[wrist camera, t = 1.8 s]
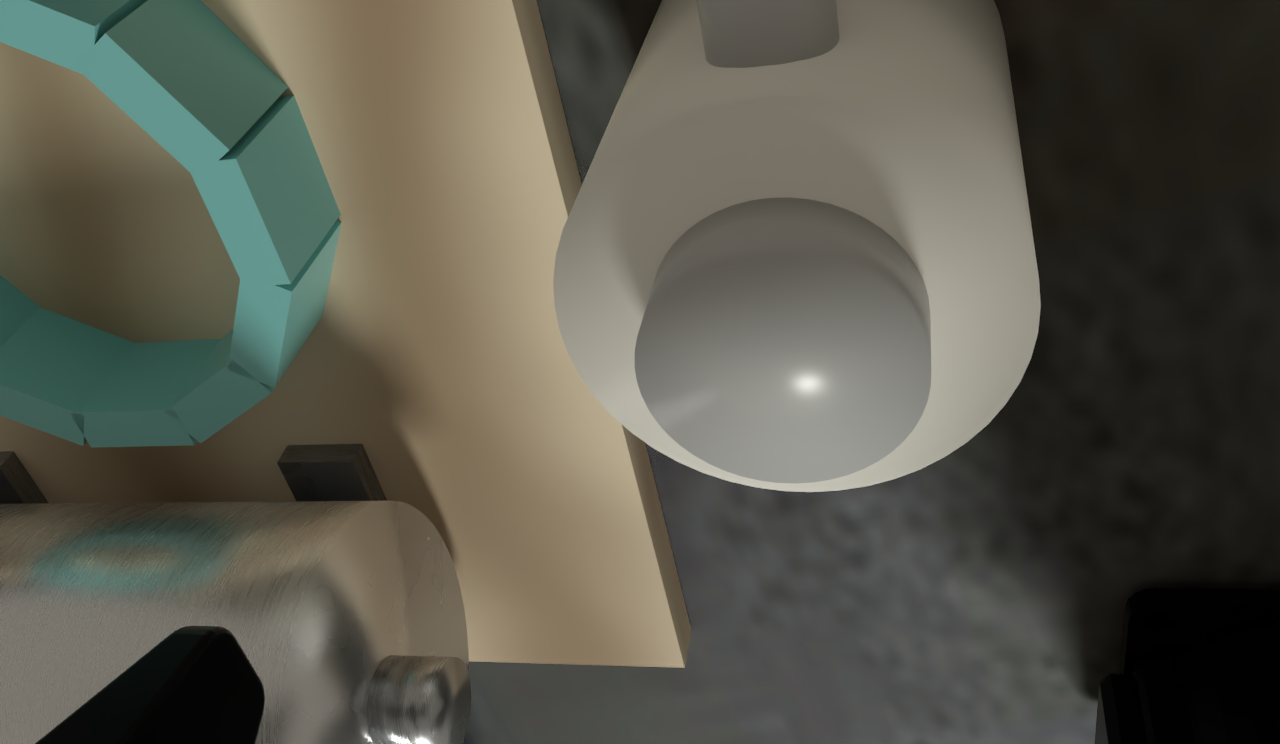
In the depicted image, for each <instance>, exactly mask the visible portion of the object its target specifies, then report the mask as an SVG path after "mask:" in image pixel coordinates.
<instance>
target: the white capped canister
mask: <svg viewBox="0 0 1280 744" xmlns="http://www.w3.org/2000/svg"><path fill="white" fill-rule="evenodd" d="M553 287H554V305H555V310H556V315H557V320H558V325H559V330H560V332H561V335H562V338H563V341H564V343H565V346H566V349H567V352H568V354H569V356H570V358H571V360H572V362H573V364H574V365H575V367H576V369H577V371H578V373H579V375H580V376H581V378H582V379H583V381H584V382H585V384H586V385H587V386H588V388H589V389H590V391H591V392H592V393H593V395H594V396H595V397H596V399H597V400H598V401H599V402H600V403H601V404H602V405H603V406H604V407H605V408H606V410H607V411H608V412H609V413H610V414H611V415H612V416H613V417H614V418H615V419H616V420H618V421H619V422H620V423H621V424H622V425H623V426H624V427H625V428H627V429H628V430H629V431H630V432H631V433H632V434H634V435H635V436H637V437H638V438H640V439H641V440H642V441H644V442H645V443H647V444H648V445H649V446H651V447H652V448H654V449H656V450H657V451H659V452H661V453H663V454H664V455H666V456H668V457H670V458H672V459H673V460H675V461H677V462H679V463H681V464H684V465H686V466H688V467H691V468H693V469H695V470H697V471H700V472H702V473H705V474H708V475H711V476H714V477H717V478H720V479H723V480H726V481H730V482H734V483H739V484H743V485H747V486H752V487H757V488H764V489H772V490H780V491H797V492H821V491H839V490H846V489H852V488H859V487H865V486H870V485H874V484H878V483H882V482H885V481H889V480H893V479H896V478H899V477H902V476H904V475H907V474H910V473H912V472H915V471H918V470H920V469H922V468H924V467H926V466H928V465H930V464H932V463H934V462H936V461H938V460H940V459H942V458H944V457H946V456H947V455H949V454H950V453H952V452H953V451H955V450H956V449H958V448H959V447H961V446H962V445H964V444H965V443H967V442H968V441H969V440H970V439H972V438H973V437H974V436H975V435H976V434H977V433H979V432H980V431H981V430H982V429H983V428H984V427H986V426H987V425H988V424H989V423H990V422H991V420H992V419H993V418H994V417H995V416H996V415H997V414H998V413H999V411H1000V410H1001V409H1002V408H1003V407H1004V406H1005V405H1006V403H1007V402H1008V400H1009V399H1010V397H1011V396H1012V394H1013V393H1014V391H1015V390H1016V388H1017V386H1018V385H1019V383H1020V382H1021V379H1022V377H1023V375H1024V373H1025V371H1026V369H1027V366H1028V364H1029V362H1030V360H1031V357H1032V353H1033V350H1034V346H1035V343H1036V339H1037V335H1038V329H1039V320H1040V310H1041V301H1040V286H1039V275H1038V268H1037V261H1036V254H1035V247H1034V240H1033V233H1032V226H1031V218H1030V211H1029V204H1028V197H1027V190H1026V183H1025V176H1024V169H1023V162H1022V155H1021V148H1020V140H1019V133H1018V126H1017V119H1016V112H1015V105H1014V98H1013V91H1012V84H1011V77H1010V70H1009V63H1008V55H1007V48H1006V41H1005V36H1004V31H1003V27H1002V22H1001V18H1000V14H999V12H998V9H997V6H996V4H995V1H994V0H662V1H661V4H660V6H659V8H658V10H657V13H656V15H655V17H654V20H653V22H652V24H651V26H650V29H649V31H648V33H647V36H646V38H645V40H644V43H643V45H642V47H641V50H640V52H639V54H638V57H637V59H636V61H635V64H634V66H633V68H632V70H631V73H630V75H629V77H628V80H627V82H626V84H625V87H624V89H623V91H622V94H621V96H620V98H619V101H618V103H617V105H616V107H615V110H614V112H613V114H612V117H611V119H610V121H609V124H608V126H607V128H606V131H605V133H604V135H603V138H602V140H601V142H600V145H599V147H598V149H597V151H596V154H595V156H594V158H593V161H592V163H591V165H590V168H589V170H588V172H587V175H586V177H585V179H584V182H583V184H582V186H581V189H580V191H579V193H578V195H577V198H576V200H575V202H574V205H573V207H572V209H571V212H570V214H569V216H568V219H567V221H566V223H565V226H564V228H563V230H562V234H561V238H560V241H559V245H558V249H557V252H556V258H555V267H554V277H553Z"/></svg>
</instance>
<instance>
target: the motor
mask: <svg viewBox="0 0 1280 744" xmlns="http://www.w3.org/2000/svg"><path fill="white" fill-rule="evenodd" d="M277 464H278V466H279V468H280V470H281V472H282V474H283V476H284V478H285V480H286V482H287V484H288V486H289V488H290V490H291V492H292V494H293V496H294V498H295V500H296V501H275V502H153V503H48V501H47V500H46V498H45V497H44V495H43V494H42V492H41V491H40V489H39V488H38V486H37V485H36V483H35V482H34V480H33V479H32V477H31V476H30V474H29V473H28V472H27V470H26V469H25V467H24V466H23V464H22V463H21V461H20V460H19V458H18V457H17V455H16V454H15V452H14V451H1V452H0V744H35V743H36V742H38V741H39V740H40V739H41V738H42V737H44V736H45V735H46V734H47V733H49V732H50V731H51V730H52V729H54V728H55V727H56V726H57V725H59V724H60V723H61V722H62V721H64V720H65V719H66V718H67V717H68V716H70V715H71V714H72V713H73V712H75V711H76V710H77V709H78V708H80V707H81V706H82V705H83V704H85V703H86V702H87V701H88V700H89V699H91V698H92V697H93V696H94V695H96V694H97V693H98V692H99V691H101V690H102V689H103V688H104V687H106V686H107V685H108V684H109V683H111V682H112V681H113V680H114V679H115V678H117V677H118V676H119V675H120V674H122V673H123V672H124V671H125V670H127V669H128V668H129V667H130V666H132V665H133V664H134V663H135V662H136V661H138V660H139V659H140V658H141V657H143V656H144V655H145V654H146V653H148V652H149V651H150V650H151V649H153V648H154V647H155V646H156V645H158V644H159V643H160V642H161V641H162V640H164V639H165V638H166V637H167V636H169V635H170V634H171V633H173V632H174V631H176V630H178V629H180V628H182V627H186V626H219V627H224V628H226V629H228V630H229V631H230V632H231V633H232V634H233V635H234V636H235V638H236V640H237V641H238V643H239V645H240V646H241V648H242V650H243V651H244V653H245V655H246V656H247V658H248V660H249V661H250V663H251V665H252V666H253V668H254V670H255V671H256V673H257V674H258V676H259V678H260V680H261V682H262V684H263V688H264V694H265V704H264V711H263V716H262V720H261V723H260V727H259V731H258V734H257V738H256V742H255V744H463V740H464V735H465V732H466V729H467V725H468V721H469V716H470V708H471V685H470V678H469V652H468V637H467V626H466V618H465V610H464V605H463V599H462V594H461V589H460V585H459V581H458V578H457V574H456V570H455V567H454V565H453V562H452V559H451V556H450V553H449V551H448V549H447V547H446V545H445V543H444V541H443V539H442V537H441V536H440V534H439V532H438V531H437V529H436V528H435V526H434V525H433V524H432V522H431V521H430V520H429V519H428V518H427V517H426V516H425V515H424V514H423V513H422V512H420V511H419V510H418V509H417V508H415V507H413V506H411V505H409V504H407V503H405V502H399V501H387V499H386V497H385V494H384V492H383V490H382V487H381V485H380V483H379V481H378V478H377V476H376V474H375V471H374V469H373V467H372V465H371V462H370V460H369V458H368V455H367V453H366V451H365V449H364V446H363V444H321V445H287V447H286V449H285V450H284V452H283V454H282V455H281V457H280V459H279V460H278V462H277Z"/></svg>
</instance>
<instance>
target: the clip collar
mask: <svg viewBox="0 0 1280 744" xmlns="http://www.w3.org/2000/svg"><path fill="white" fill-rule="evenodd" d="M0 42H2V43H4V44H7V45H9V46H12V47H14V48H17V49H19V50H22V51H24V52H27V53H30V54H32V55H35V56H37V57H40V58H42V59H45V60H47V61H50V62H52V63H55V64H58V65H60V66H63V67H65V68H68V69H70V70H73V71H75V72H78V73H80V74H83V75H84V76H85V77H87V78H88V79H89V80H90V81H91V82H92V83H93V84H94V85H95V86H96V87H97V88H99V89H100V90H101V91H102V92H103V93H104V94H105V95H106V96H107V97H108V98H110V99H111V100H112V101H113V102H114V103H115V104H116V105H117V106H118V107H119V108H120V109H122V110H123V111H124V112H125V113H126V114H127V115H128V116H129V117H130V118H131V119H132V120H134V121H135V122H136V123H137V124H138V125H139V126H140V127H141V128H142V129H143V130H144V131H146V132H147V133H148V134H149V135H150V136H151V137H152V138H153V139H154V140H155V141H156V142H158V143H159V144H160V145H161V146H162V147H163V148H164V149H165V150H166V151H167V152H168V153H170V154H171V155H172V156H173V157H174V158H175V159H176V160H177V161H178V162H179V163H180V164H182V165H183V166H184V167H185V168H186V169H187V170H188V171H189V172H190V173H191V175H192V177H193V179H194V182H195V184H196V186H197V188H198V190H199V192H200V194H201V197H202V199H203V201H204V203H205V205H206V207H207V209H208V212H209V214H210V216H211V218H212V220H213V222H214V224H215V226H216V229H217V231H218V233H219V235H220V237H221V239H222V241H223V244H224V246H225V248H226V250H227V252H228V254H229V256H230V259H231V261H232V263H233V265H234V267H235V269H236V271H237V273H238V276H239V278H240V285H239V292H238V299H237V306H236V313H235V321H234V328H233V330H232V331H230V332H229V333H228V334H227V335H225V336H224V337H223V338H221V339H205V340H185V341H164V342H144V343H134V342H131V341H129V340H126V339H124V338H121V337H118V336H116V335H113V334H110V333H108V332H105V331H102V330H100V329H97V328H94V327H92V326H89V325H86V324H84V323H81V322H78V321H76V320H73V319H70V318H68V317H65V316H62V315H60V314H57V313H54V312H52V311H49V310H47V309H44V308H41V307H39V306H38V305H37V304H36V303H34V302H33V301H32V300H31V299H29V298H28V297H27V296H26V295H25V294H23V293H22V292H21V291H20V290H18V289H17V288H16V287H15V286H13V285H12V284H11V283H10V282H8V281H7V280H6V279H5V278H4V277H2V276H1V275H0V416H3V417H6V418H9V419H11V420H14V421H17V422H19V423H22V424H25V425H28V426H30V427H33V428H36V429H38V430H41V431H44V432H47V433H49V434H52V435H55V436H57V437H60V438H63V439H66V440H68V441H71V442H74V443H76V444H79V445H82V446H84V445H85V444H86V442H88V443H89V445H90V446H91V448H93V447H137V446H182V445H195V444H196V442H197V441H198V442H199V443H202V442H203V441H205V440H206V439H208V438H209V437H210V436H212V435H213V434H215V433H216V432H217V431H219V430H220V429H222V428H223V427H224V426H226V425H227V424H229V423H230V422H232V421H233V420H234V419H236V418H237V417H239V416H240V415H241V414H243V413H244V412H246V411H247V410H248V409H250V408H251V407H253V406H254V405H255V404H257V403H258V402H260V401H261V400H262V399H264V398H265V397H267V396H268V395H270V394H271V393H272V392H273V390H274V389H275V387H276V386H277V384H278V383H279V381H280V380H281V378H282V377H283V375H284V373H285V372H286V370H287V369H288V367H289V366H290V364H291V363H292V361H293V360H294V358H295V357H296V355H297V354H298V352H299V351H300V349H301V348H302V346H303V345H304V343H305V342H306V340H307V339H308V337H309V335H310V334H311V332H312V331H313V329H314V328H315V326H316V325H317V323H318V322H319V320H320V319H321V317H322V316H323V311H324V306H325V301H326V296H327V291H328V286H329V282H330V277H331V272H332V267H333V262H334V257H335V252H336V247H337V242H338V237H339V233H340V228H341V223H342V222H340V221H338V220H337V219H338V218H339V216H340V215H341V214H340V211H339V209H338V206H337V203H336V201H335V198H334V196H333V193H332V191H331V188H330V186H329V183H328V180H327V178H326V175H325V173H324V170H323V168H322V165H321V163H320V160H319V157H318V155H317V152H316V150H315V147H314V145H313V142H312V140H311V137H310V134H309V132H308V129H307V127H306V124H305V122H304V119H303V117H302V114H301V111H300V109H299V106H298V104H297V101H296V99H295V96H294V95H291V96H282V97H280V96H281V94H282V93H283V92H284V91H285V90H286V89H287V88H288V86H287V85H286V84H285V83H284V82H283V81H282V80H281V79H280V78H279V77H278V76H277V75H276V74H275V73H274V72H273V71H272V70H271V69H270V68H269V67H268V66H267V65H266V64H265V63H264V62H263V61H262V60H261V59H260V58H259V57H258V56H257V55H256V54H255V53H254V52H253V51H252V50H251V49H250V48H249V47H248V46H247V45H246V44H245V43H244V42H243V41H242V40H241V39H240V38H239V37H238V36H237V35H236V34H235V33H234V32H233V31H232V30H231V29H230V28H229V27H228V26H227V25H226V24H225V23H224V22H223V21H222V20H221V19H220V18H219V17H218V16H217V15H216V14H215V13H214V12H213V11H212V10H211V9H210V8H209V7H208V6H206V5H205V4H204V3H203V2H202V1H201V0H0Z"/></svg>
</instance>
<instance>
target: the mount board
mask: <svg viewBox="0 0 1280 744" xmlns="http://www.w3.org/2000/svg"><path fill="white" fill-rule="evenodd" d="M201 1H202V2H203V3H204V4H205V5H206V6H208V7H209V8H210V9H211V10H212V11H213V12H214V13H215V14H216V15H217V16H218V17H219V18H220V19H221V20H222V21H223V22H224V23H225V24H226V25H227V26H228V27H229V28H230V29H231V30H232V31H233V32H234V33H235V34H236V35H237V36H238V37H239V38H240V39H241V40H242V41H243V42H244V43H245V44H246V45H247V46H248V47H249V48H250V49H251V50H252V51H253V52H254V53H255V54H256V55H257V56H258V57H259V58H260V59H261V60H262V61H263V62H264V63H265V64H266V65H267V66H268V67H269V68H270V69H271V70H272V71H273V72H274V73H275V74H276V75H277V76H278V77H279V78H280V79H281V80H282V81H283V82H284V83H285V84H286V85H287V86H288V88H287V89H286V90H285V91H284V92H283V93H282V94H281V96H280V97H282V96H291V95H294V96H295V99H296V101H297V104H298V106H299V109H300V111H301V114H302V117H303V119H304V122H305V124H306V127H307V129H308V132H309V134H310V137H311V140H312V142H313V145H314V147H315V150H316V152H317V155H318V157H319V160H320V163H321V165H322V168H323V170H324V173H325V175H326V178H327V180H328V183H329V186H330V188H331V191H332V193H333V196H334V198H335V201H336V203H337V206H338V209H339V211H340V214H341V215H340V216H339V218H338V219H337V220H338V221H340V222H342V223H341V228H340V233H339V237H338V242H337V247H336V252H335V257H334V262H333V267H332V272H331V277H330V282H329V286H328V291H327V296H326V301H325V306H324V311H323V316H322V317H321V319H320V320H319V322H318V323H317V325H316V326H315V328H314V329H313V331H312V332H311V334H310V335H309V337H308V339H307V340H306V342H305V343H304V345H303V346H302V348H301V349H300V351H299V352H298V354H297V355H296V357H295V358H294V360H293V361H292V363H291V364H290V366H289V367H288V369H287V370H286V372H285V373H284V375H283V377H282V378H281V380H280V381H279V383H278V384H277V386H276V387H275V389H274V390H273V392H272V393H271V394H270V395H268V396H267V397H265V398H264V399H262V400H261V401H260V402H258V403H257V404H255V405H254V406H253V407H251V408H250V409H248V410H247V411H246V412H244V413H243V414H241V415H240V416H239V417H237V418H236V419H234V420H233V421H232V422H230V423H229V424H227V425H226V426H224V427H223V428H222V429H220V430H219V431H217V432H216V433H215V434H213V435H212V436H210V437H209V438H208V439H206V440H205V441H203V442H202V443H199V442H198V441H197V442H196V444H195V445H182V446H137V447H93V448H91V446H90V445H89V443H88V442H86V444H85V445H84V446H82V445H79V444H76V443H74V442H71V441H68V440H66V439H63V438H60V437H57V436H55V435H52V434H49V433H47V432H44V431H41V430H38V429H36V428H33V427H30V426H28V425H25V424H22V423H19V422H17V421H14V420H11V419H9V418H6V417H3V416H0V452H1V451H14V452H15V454H16V455H17V457H18V458H19V460H20V461H21V463H22V464H23V466H24V467H25V469H26V470H27V472H28V473H29V474H30V476H31V477H32V479H33V480H34V482H35V483H36V485H37V486H38V488H39V489H40V491H41V492H42V494H43V495H44V497H45V498H46V500H47V501H48V503H153V502H275V501H296V500H295V498H294V496H293V494H292V492H291V490H290V488H289V486H288V484H287V482H286V480H285V478H284V476H283V474H282V472H281V470H280V468H279V466H278V464H277V462H278V460H279V459H280V457H281V455H282V454H283V452H284V450H285V449H286V447H287V445H321V444H363V446H364V449H365V451H366V453H367V455H368V458H369V460H370V462H371V465H372V467H373V469H374V471H375V474H376V476H377V478H378V481H379V483H380V485H381V487H382V490H383V492H384V494H385V497H386V499H387V501H399V502H405V503H407V504H409V505H411V506H413V507H415V508H417V509H418V510H419V511H420V512H422V513H423V514H424V515H425V516H426V517H427V518H428V519H429V520H430V521H431V522H432V524H433V525H434V526H435V528H436V529H437V531H438V532H439V534H440V536H441V537H442V539H443V541H444V543H445V545H446V547H447V549H448V551H449V553H450V556H451V559H452V562H453V565H454V567H455V570H456V574H457V578H458V581H459V585H460V589H461V594H462V599H463V605H464V610H465V618H466V626H467V637H468V652H469V661H478V662H512V663H546V664H579V665H613V666H647V667H681V668H685V663H686V658H687V652H688V647H689V642H690V636H691V631H692V630H691V626H690V622H689V618H688V614H687V610H686V606H685V602H684V597H683V593H682V589H681V585H680V581H679V577H678V573H677V569H676V565H675V561H674V557H673V553H672V549H671V545H670V541H669V537H668V532H667V528H666V524H665V520H664V516H663V512H662V508H661V504H660V500H659V496H658V492H657V488H656V484H655V480H654V476H653V472H652V467H651V463H650V459H649V455H648V451H647V447H646V443H645V442H644V441H642V440H641V439H640V438H638V437H637V436H635V435H634V434H632V433H631V432H630V431H629V430H628V429H627V428H625V427H624V426H623V425H622V424H621V423H620V422H619V421H618V420H616V419H615V418H614V417H613V416H612V415H611V414H610V413H609V412H608V411H607V410H606V408H605V407H604V406H603V405H602V404H601V403H600V402H599V401H598V400H597V399H596V397H595V396H594V395H593V393H592V392H591V391H590V389H589V388H588V386H587V385H586V384H585V382H584V381H583V379H582V378H581V376H580V375H579V373H578V371H577V369H576V367H575V365H574V364H573V362H572V360H571V358H570V356H569V354H568V352H567V349H566V346H565V343H564V341H563V338H562V335H561V332H560V330H559V325H558V320H557V315H556V310H555V305H554V287H553V277H554V267H555V258H556V252H557V249H558V245H559V241H560V238H561V234H562V230H563V228H564V226H565V223H566V221H567V219H568V216H569V214H570V212H571V209H572V207H573V205H574V202H575V200H576V198H577V195H578V193H579V191H580V189H581V186H582V183H581V179H580V175H579V171H578V167H577V163H576V159H575V155H574V151H573V146H572V142H571V138H570V134H569V130H568V126H567V122H566V118H565V114H564V110H563V106H562V102H561V98H560V94H559V90H558V86H557V81H556V77H555V73H554V69H553V65H552V61H551V57H550V53H549V49H548V45H547V41H546V37H545V33H544V29H543V25H542V21H541V16H540V12H539V8H538V4H537V0H201ZM0 275H1V276H2V277H4V278H5V279H6V280H7V281H8V282H10V283H11V284H12V285H13V286H15V287H16V288H17V289H18V290H20V291H21V292H22V293H23V294H25V295H26V296H27V297H28V298H29V299H31V300H32V301H33V302H34V303H36V304H37V305H38V306H39V307H41V308H44V309H47V310H49V311H52V312H54V313H57V314H60V315H62V316H65V317H68V318H70V319H73V320H76V321H78V322H81V323H84V324H86V325H89V326H92V327H94V328H97V329H100V330H102V331H105V332H108V333H110V334H113V335H116V336H118V337H121V338H124V339H126V340H129V341H131V342H134V343H144V342H164V341H185V340H205V339H221V338H223V337H224V336H225V335H227V334H228V333H229V332H230V331H232V330H233V328H234V321H235V313H236V306H237V299H238V292H239V285H240V278H239V276H238V273H237V271H236V269H235V267H234V265H233V263H232V261H231V259H230V256H229V254H228V252H227V250H226V248H225V246H224V244H223V241H222V239H221V237H220V235H219V233H218V231H217V229H216V226H215V224H214V222H213V220H212V218H211V216H210V214H209V212H208V209H207V207H206V205H205V203H204V201H203V199H202V197H201V194H200V192H199V190H198V188H197V186H196V184H195V182H194V179H193V177H192V175H191V173H190V172H189V171H188V170H187V169H186V168H185V167H184V166H183V165H182V164H180V163H179V162H178V161H177V160H176V159H175V158H174V157H173V156H172V155H171V154H170V153H168V152H167V151H166V150H165V149H164V148H163V147H162V146H161V145H160V144H159V143H158V142H156V141H155V140H154V139H153V138H152V137H151V136H150V135H149V134H148V133H147V132H146V131H144V130H143V129H142V128H141V127H140V126H139V125H138V124H137V123H136V122H135V121H134V120H132V119H131V118H130V117H129V116H128V115H127V114H126V113H125V112H124V111H123V110H122V109H120V108H119V107H118V106H117V105H116V104H115V103H114V102H113V101H112V100H111V99H110V98H108V97H107V96H106V95H105V94H104V93H103V92H102V91H101V90H100V89H99V88H97V87H96V86H95V85H94V84H93V83H92V82H91V81H90V80H89V79H88V78H87V77H85V76H84V75H83V74H80V73H78V72H75V71H73V70H70V69H68V68H65V67H63V66H60V65H58V64H55V63H52V62H50V61H47V60H45V59H42V58H40V57H37V56H35V55H32V54H30V53H27V52H24V51H22V50H19V49H17V48H14V47H12V46H9V45H7V44H4V43H2V42H0Z"/></svg>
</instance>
